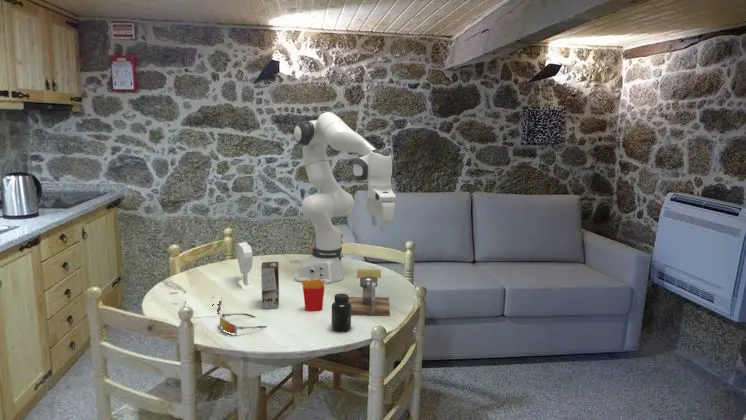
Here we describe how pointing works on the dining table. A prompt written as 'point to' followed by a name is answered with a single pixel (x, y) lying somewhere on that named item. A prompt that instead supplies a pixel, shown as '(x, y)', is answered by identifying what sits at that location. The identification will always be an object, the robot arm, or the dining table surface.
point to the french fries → (313, 294)
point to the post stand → (369, 304)
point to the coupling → (368, 277)
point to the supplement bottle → (341, 313)
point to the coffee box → (270, 285)
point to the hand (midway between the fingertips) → (378, 228)
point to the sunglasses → (232, 327)
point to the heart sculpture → (244, 260)
